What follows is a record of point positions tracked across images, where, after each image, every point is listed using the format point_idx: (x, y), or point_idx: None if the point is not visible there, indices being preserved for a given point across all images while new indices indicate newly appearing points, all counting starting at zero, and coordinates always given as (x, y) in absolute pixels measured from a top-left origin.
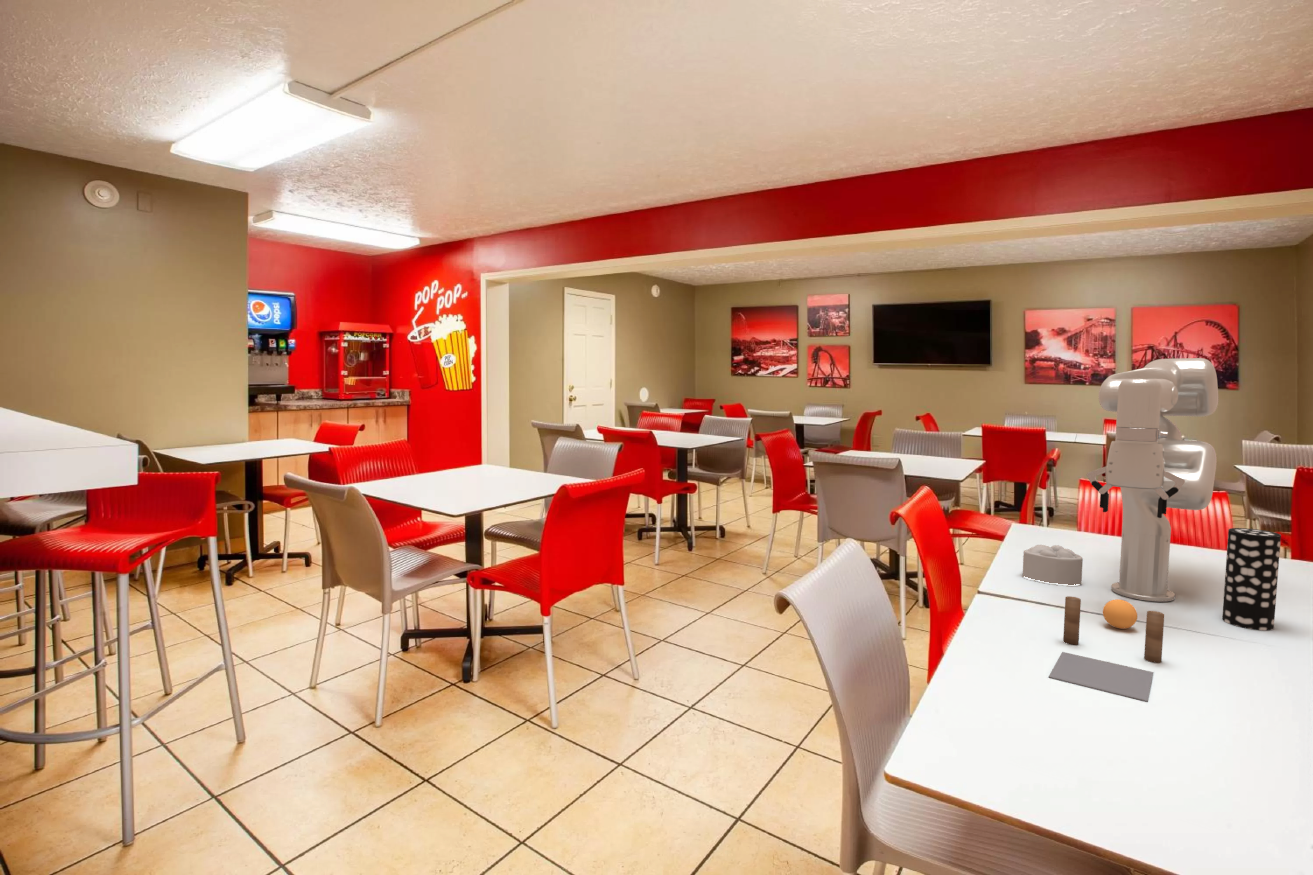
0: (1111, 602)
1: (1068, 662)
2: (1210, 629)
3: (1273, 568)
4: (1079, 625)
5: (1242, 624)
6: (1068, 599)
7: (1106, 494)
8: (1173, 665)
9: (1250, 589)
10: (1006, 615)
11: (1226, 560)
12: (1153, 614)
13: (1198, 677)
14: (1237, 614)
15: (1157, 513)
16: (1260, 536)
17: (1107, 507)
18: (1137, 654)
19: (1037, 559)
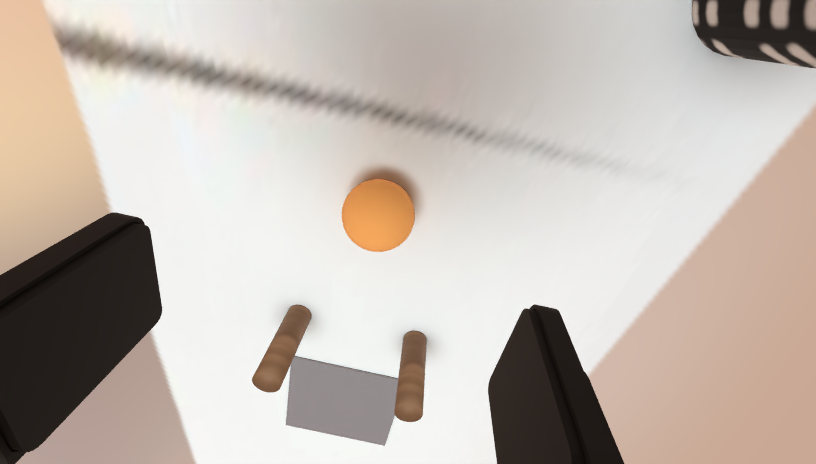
0: (353, 235)
1: (302, 386)
2: (600, 114)
3: None
4: (300, 341)
5: (717, 50)
6: (259, 388)
7: (4, 458)
8: (440, 347)
9: None
10: (169, 216)
11: None
12: (403, 419)
13: (462, 374)
14: (726, 43)
15: (491, 411)
16: None
17: (133, 306)
18: (396, 325)
19: None
